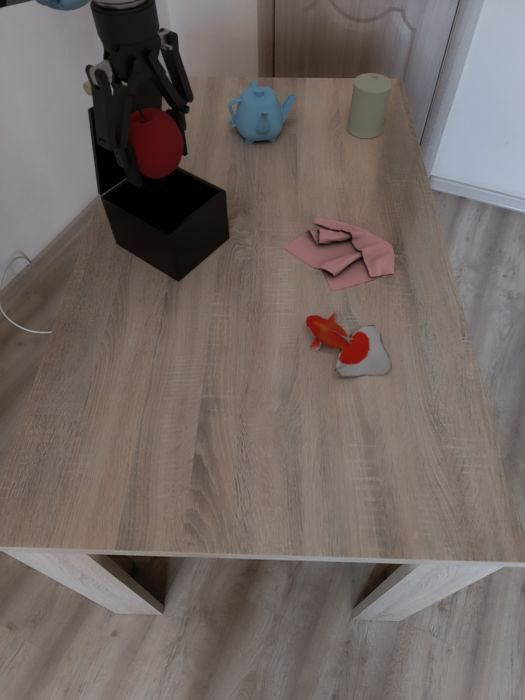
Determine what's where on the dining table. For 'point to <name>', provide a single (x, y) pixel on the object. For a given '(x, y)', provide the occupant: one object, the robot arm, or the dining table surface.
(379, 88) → the can
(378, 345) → the fish
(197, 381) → the dining table surface
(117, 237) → the box
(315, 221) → the cloth
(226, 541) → the dining table surface
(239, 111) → the teapot
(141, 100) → the lid
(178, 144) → the apple
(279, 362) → the dining table surface
